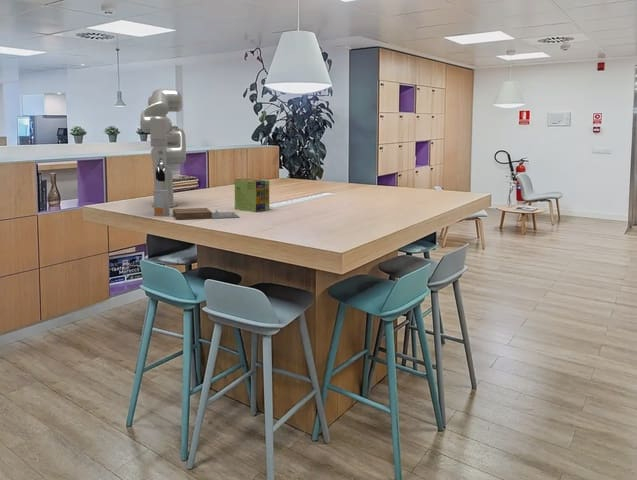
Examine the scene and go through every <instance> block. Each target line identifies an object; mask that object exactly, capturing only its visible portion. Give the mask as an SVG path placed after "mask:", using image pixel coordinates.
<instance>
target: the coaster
mask: <svg viewBox="0 0 637 480" xmlns="http://www.w3.org/2000/svg"><path fill="white" fill-rule="evenodd" d="M215 212H216V214H217V215H218V216H219V217H221V216H232V212H233V211H231V210H230V209H228V208H225V209H215Z"/></svg>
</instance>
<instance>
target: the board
mask: <svg viewBox="0 0 637 480" xmlns="http://www.w3.org/2000/svg"><path fill="white" fill-rule="evenodd" d="M212 213H213V212H212V211H211V210H210V209H208V208H207V207H196V208H193V207H192V208H189V207H188V208H172V216H173V217H174V218H175V220H176V221H181V220H182V221H184V220H186V221H187V220H208V219H212ZM212 220H213V219H212Z"/></svg>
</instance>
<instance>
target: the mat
mask: <svg viewBox="0 0 637 480" xmlns="http://www.w3.org/2000/svg"><path fill="white" fill-rule="evenodd" d="M231 212H232V216H221V217H219V216H218V215H217V214H216V211H215V212H212V220H215V219H240V218H241V217H240V216H239V215H238V214H236V213H235V212H233V211H231Z"/></svg>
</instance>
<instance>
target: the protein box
mask: <svg viewBox="0 0 637 480" xmlns="http://www.w3.org/2000/svg"><path fill="white" fill-rule="evenodd" d="M234 210H240V211H246V212H252V213H253V212H254V213H257V212H265V211H270V180H269V179H258V178H237V179H234Z"/></svg>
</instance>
